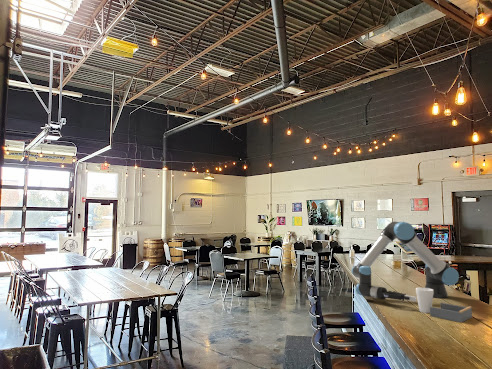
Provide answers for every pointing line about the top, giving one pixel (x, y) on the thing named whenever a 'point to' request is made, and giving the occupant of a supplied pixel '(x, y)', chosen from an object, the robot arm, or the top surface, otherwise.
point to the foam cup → (424, 299)
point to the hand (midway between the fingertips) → (415, 299)
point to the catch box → (451, 312)
